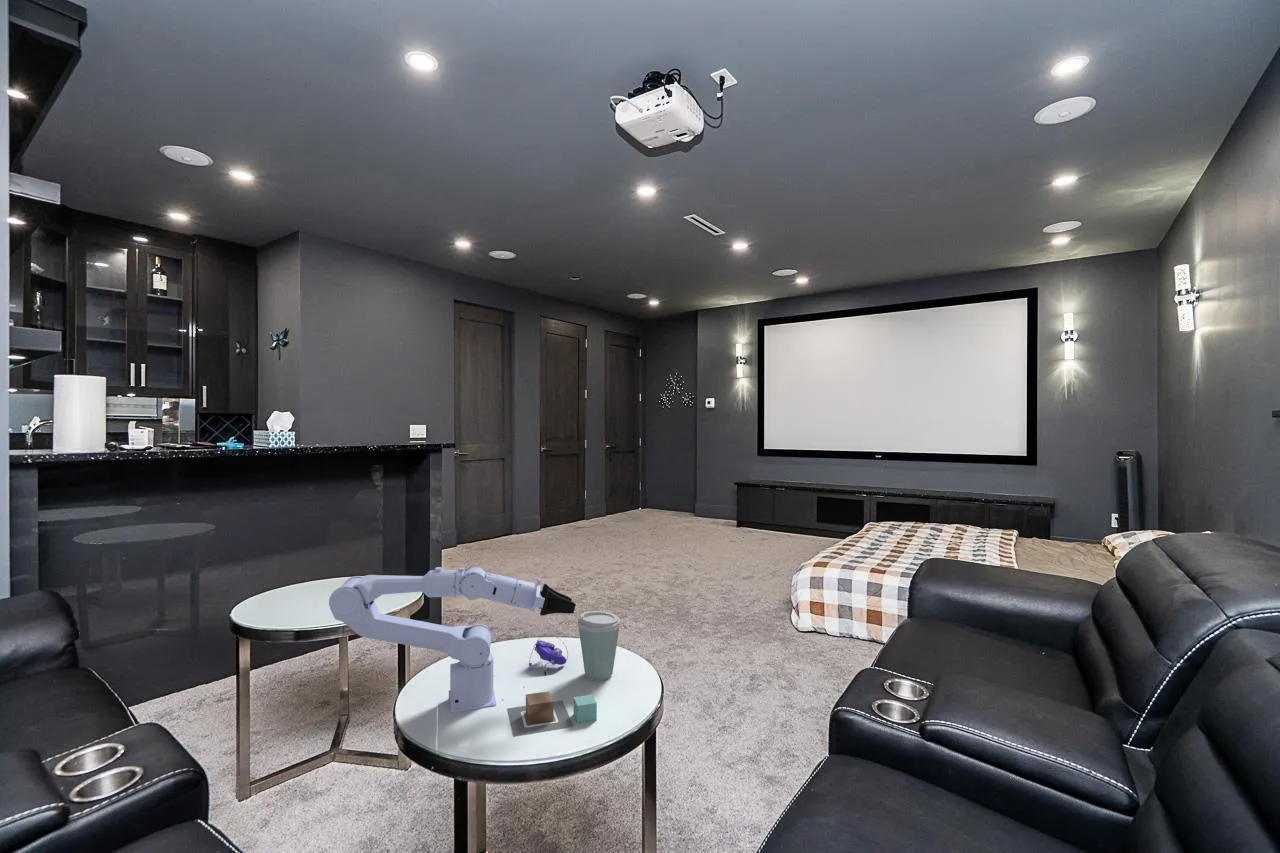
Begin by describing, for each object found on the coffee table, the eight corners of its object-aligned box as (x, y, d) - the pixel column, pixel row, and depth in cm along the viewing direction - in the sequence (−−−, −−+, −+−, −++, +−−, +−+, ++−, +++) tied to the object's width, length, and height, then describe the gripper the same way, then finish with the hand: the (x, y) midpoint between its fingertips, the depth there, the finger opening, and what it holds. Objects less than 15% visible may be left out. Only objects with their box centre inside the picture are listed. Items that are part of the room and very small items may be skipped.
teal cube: (577, 725, 120) (577, 705, 120) (573, 716, 123) (573, 697, 123) (596, 722, 121) (596, 702, 121) (592, 713, 125) (592, 694, 125)
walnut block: (528, 724, 119) (529, 705, 119) (525, 713, 124) (525, 694, 124) (553, 721, 121) (553, 701, 121) (549, 709, 125) (549, 691, 125)
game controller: (580, 649, 151) (554, 653, 143) (568, 678, 151) (542, 684, 143) (553, 630, 156) (528, 633, 148) (542, 658, 156) (516, 663, 148)
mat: (513, 737, 114) (513, 736, 114) (507, 709, 126) (507, 708, 126) (573, 728, 118) (573, 726, 118) (562, 701, 130) (562, 699, 130)
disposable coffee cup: (614, 665, 149) (614, 606, 149) (626, 683, 139) (626, 619, 139) (573, 670, 146) (573, 610, 146) (582, 689, 136) (582, 624, 136)
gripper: (520, 577, 125) (581, 592, 127) (518, 571, 139) (573, 584, 141) (510, 611, 124) (572, 625, 126) (509, 600, 138) (565, 613, 140)
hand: (572, 605), depth 134 cm, fingers open, 7 cm apart
